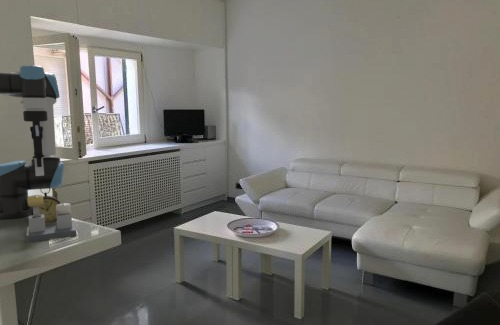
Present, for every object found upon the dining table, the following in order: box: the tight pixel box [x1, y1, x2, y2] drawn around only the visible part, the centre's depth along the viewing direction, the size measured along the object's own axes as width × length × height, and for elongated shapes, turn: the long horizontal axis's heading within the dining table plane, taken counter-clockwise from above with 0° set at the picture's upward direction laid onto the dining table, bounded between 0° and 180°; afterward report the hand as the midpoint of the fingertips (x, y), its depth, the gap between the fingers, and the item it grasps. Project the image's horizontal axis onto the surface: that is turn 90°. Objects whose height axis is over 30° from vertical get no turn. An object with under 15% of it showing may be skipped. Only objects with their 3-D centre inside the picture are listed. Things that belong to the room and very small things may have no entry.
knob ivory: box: [56, 202, 72, 215], centre depth 149 cm, size 5×5×8 cm
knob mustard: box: [27, 194, 44, 218], centre depth 144 cm, size 5×5×8 cm
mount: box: [25, 211, 77, 243], centre depth 147 cm, size 14×16×7 cm
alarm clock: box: [31, 186, 62, 224], centre depth 157 cm, size 11×5×16 cm, turn 119°
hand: (39, 175), depth 144 cm, fingers closed
